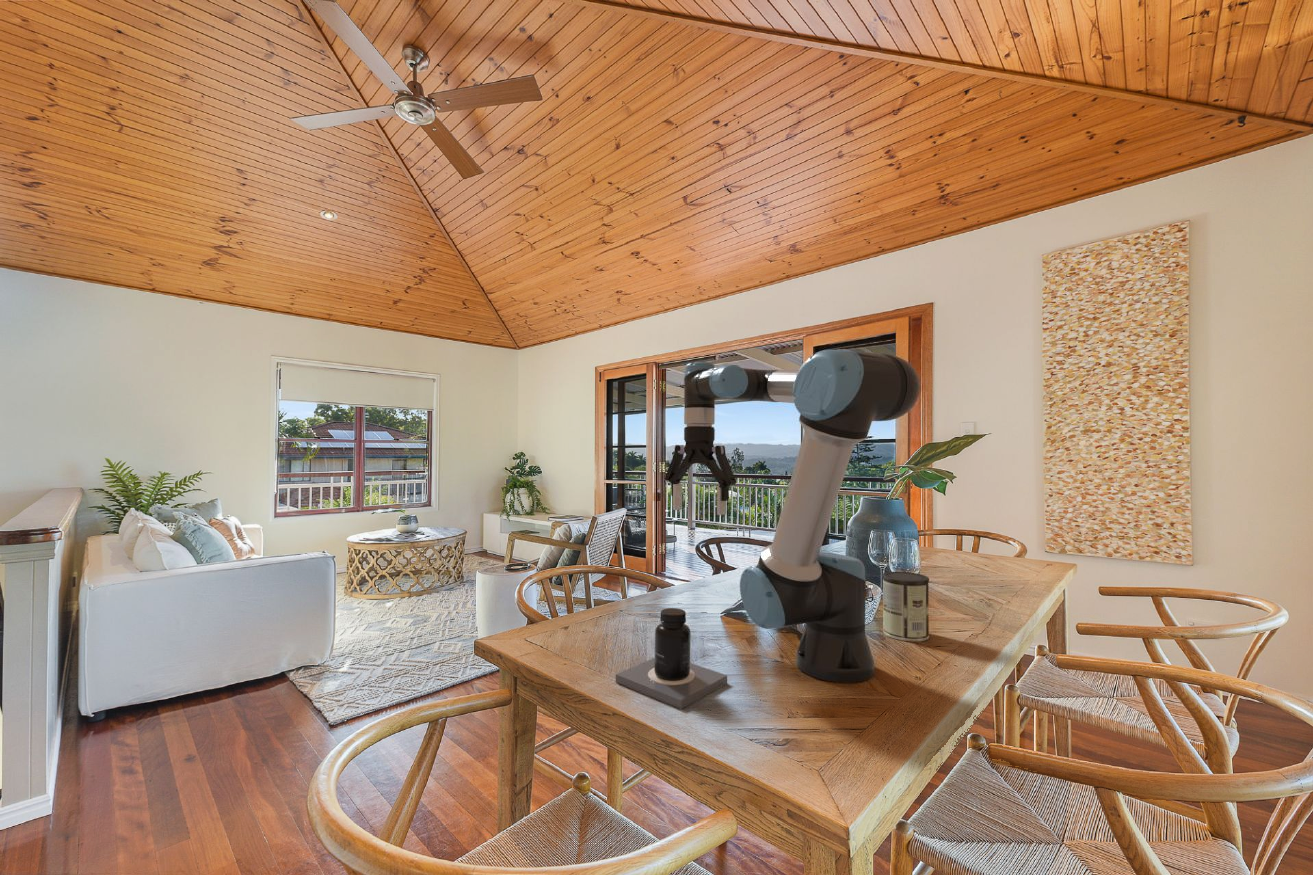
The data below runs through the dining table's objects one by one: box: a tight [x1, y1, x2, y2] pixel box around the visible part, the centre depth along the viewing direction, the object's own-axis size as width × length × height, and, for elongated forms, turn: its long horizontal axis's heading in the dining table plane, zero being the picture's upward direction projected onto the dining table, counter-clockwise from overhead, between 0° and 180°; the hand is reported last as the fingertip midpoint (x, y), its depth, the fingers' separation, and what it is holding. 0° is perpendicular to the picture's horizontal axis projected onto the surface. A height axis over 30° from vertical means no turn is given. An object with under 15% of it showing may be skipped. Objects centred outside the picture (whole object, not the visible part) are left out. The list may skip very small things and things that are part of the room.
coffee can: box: [882, 570, 930, 643], centre depth 135 cm, size 10×10×14 cm
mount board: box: [615, 657, 728, 710], centre depth 107 cm, size 16×14×2 cm
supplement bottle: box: [654, 607, 692, 681], centre depth 107 cm, size 7×7×12 cm
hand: (698, 512), depth 138 cm, fingers open, 13 cm apart
